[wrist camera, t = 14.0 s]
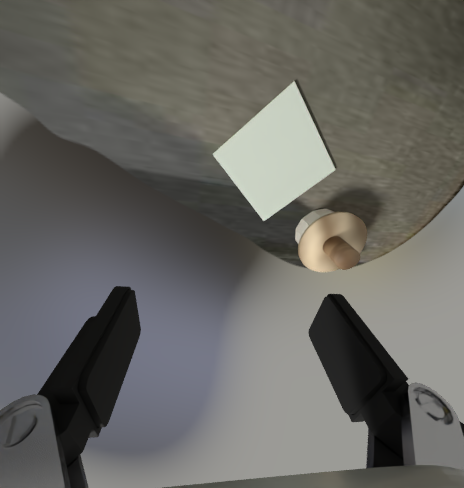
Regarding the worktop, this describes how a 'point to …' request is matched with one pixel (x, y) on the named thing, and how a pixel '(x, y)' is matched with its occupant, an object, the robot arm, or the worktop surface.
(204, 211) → the worktop surface
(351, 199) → the worktop surface
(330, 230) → the lid
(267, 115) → the mat
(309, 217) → the bowl
